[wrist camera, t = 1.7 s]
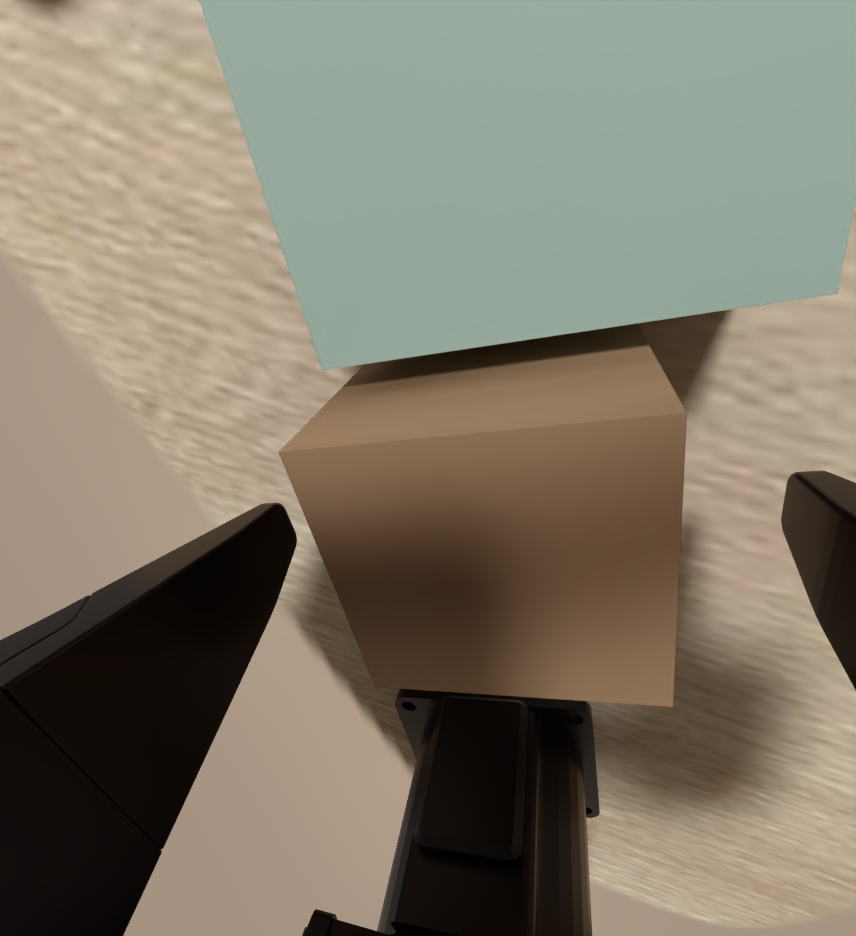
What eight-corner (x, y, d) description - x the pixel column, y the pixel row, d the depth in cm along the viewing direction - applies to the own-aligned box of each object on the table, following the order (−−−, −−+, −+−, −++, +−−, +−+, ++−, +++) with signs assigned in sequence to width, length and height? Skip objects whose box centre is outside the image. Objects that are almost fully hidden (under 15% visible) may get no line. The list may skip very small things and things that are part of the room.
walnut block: (630, 515, 12) (673, 707, 7) (432, 523, 13) (375, 686, 9) (626, 304, 9) (686, 413, 5) (385, 343, 11) (278, 452, 7)
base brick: (758, 261, 8) (845, 300, 6) (375, 328, 10) (318, 377, 8) (839, -486, 5) (1137, -1171, 2) (244, -162, 7) (74, -347, 4)
